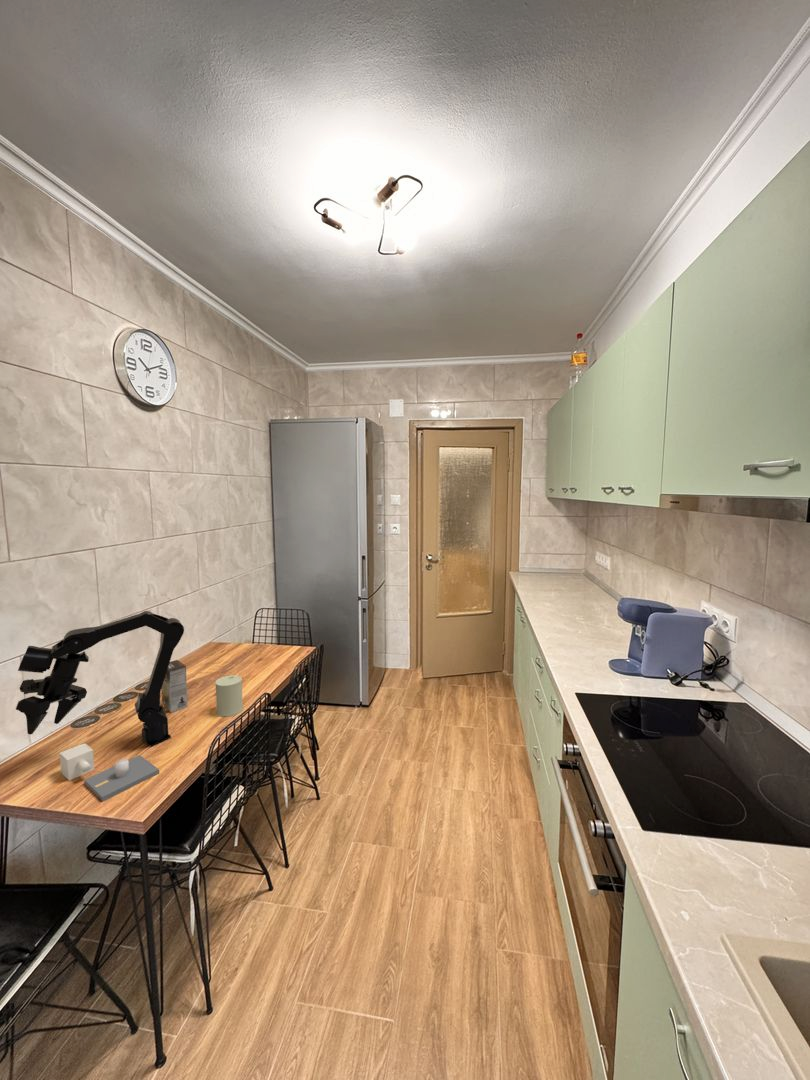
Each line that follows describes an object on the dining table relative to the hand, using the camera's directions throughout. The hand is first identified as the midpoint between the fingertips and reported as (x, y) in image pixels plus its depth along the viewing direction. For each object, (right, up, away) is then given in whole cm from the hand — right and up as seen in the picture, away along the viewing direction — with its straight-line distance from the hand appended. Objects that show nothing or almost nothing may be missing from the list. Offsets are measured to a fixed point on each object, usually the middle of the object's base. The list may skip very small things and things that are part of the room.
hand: (43, 728), depth 122 cm
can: (+38, -9, +36) cm, 54 cm away
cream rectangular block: (+11, -13, 0) cm, 17 cm away
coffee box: (+16, -9, +40) cm, 44 cm away
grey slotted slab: (+24, -13, -2) cm, 27 cm away
